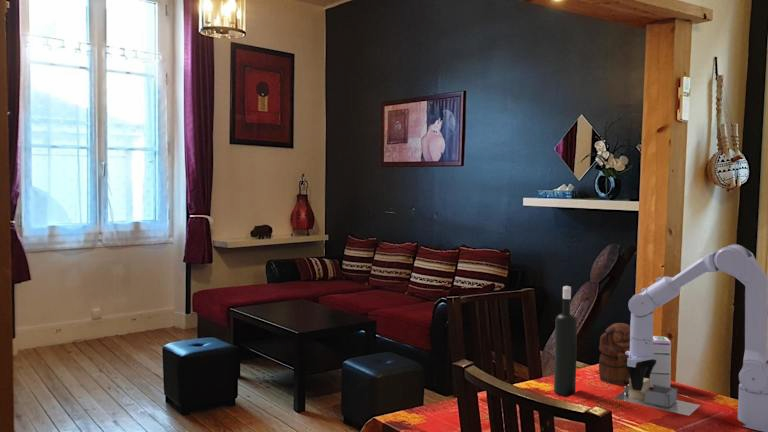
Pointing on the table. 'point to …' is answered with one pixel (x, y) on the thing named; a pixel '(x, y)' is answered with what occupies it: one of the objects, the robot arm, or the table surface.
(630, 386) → the block
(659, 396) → the housing slider
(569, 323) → the wine bottle
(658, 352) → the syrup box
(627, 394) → the base plate
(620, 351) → the wooden figurine
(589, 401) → the table surface
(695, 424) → the table surface
